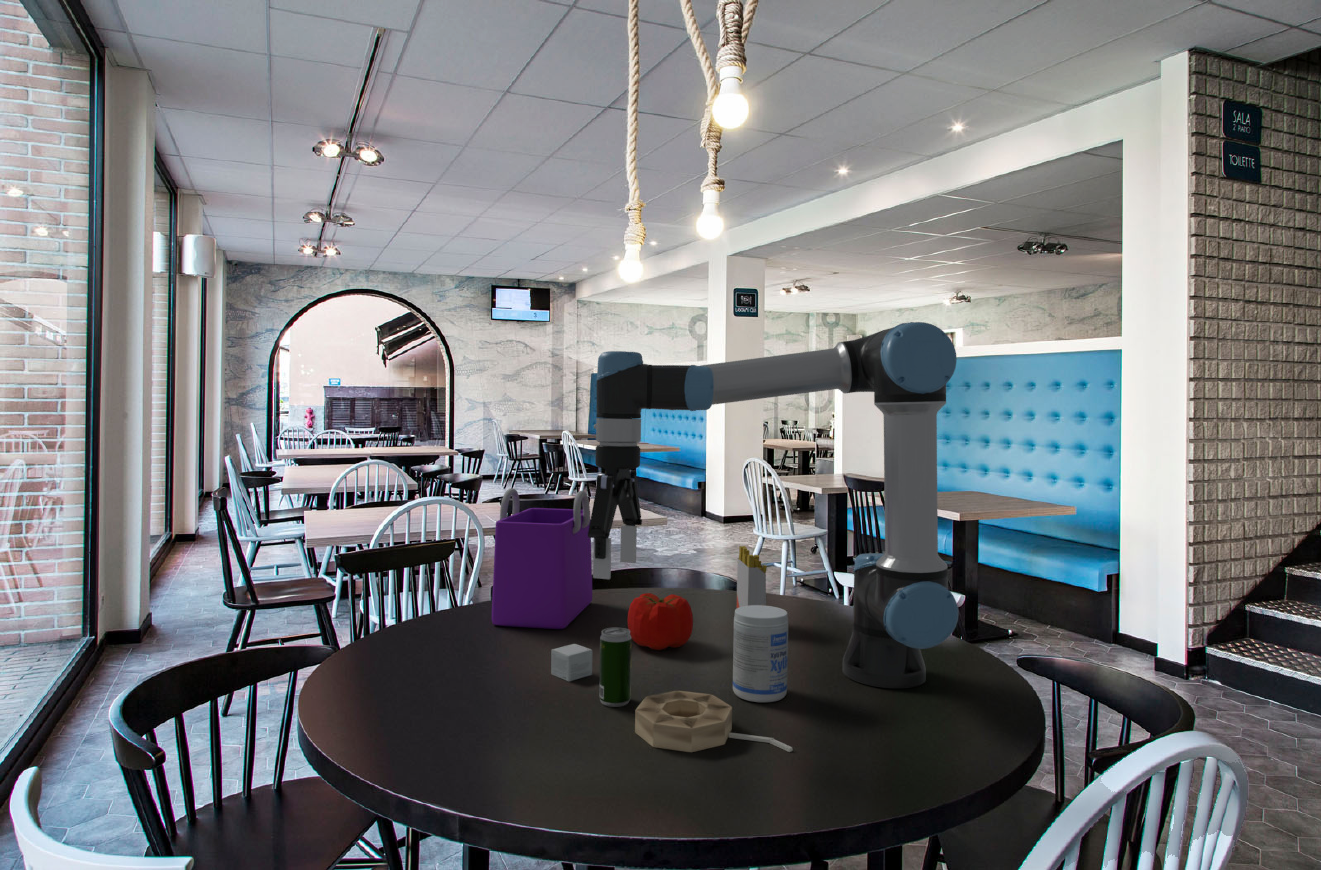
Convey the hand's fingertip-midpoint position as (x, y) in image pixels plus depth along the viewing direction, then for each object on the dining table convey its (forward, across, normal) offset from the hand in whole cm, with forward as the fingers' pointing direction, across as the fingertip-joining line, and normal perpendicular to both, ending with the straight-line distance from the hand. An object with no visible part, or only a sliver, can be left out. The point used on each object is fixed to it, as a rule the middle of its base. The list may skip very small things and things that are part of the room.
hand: (615, 570), depth 131 cm
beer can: (+23, 0, 0) cm, 23 cm away
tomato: (+23, -32, -1) cm, 39 cm away
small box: (+23, -10, -12) cm, 28 cm away
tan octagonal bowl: (+22, +8, +14) cm, 28 cm away
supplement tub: (+22, -11, +23) cm, 34 cm away
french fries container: (+22, -52, +15) cm, 59 cm away
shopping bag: (+23, -47, -34) cm, 62 cm away
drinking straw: (+22, +9, +26) cm, 36 cm away
